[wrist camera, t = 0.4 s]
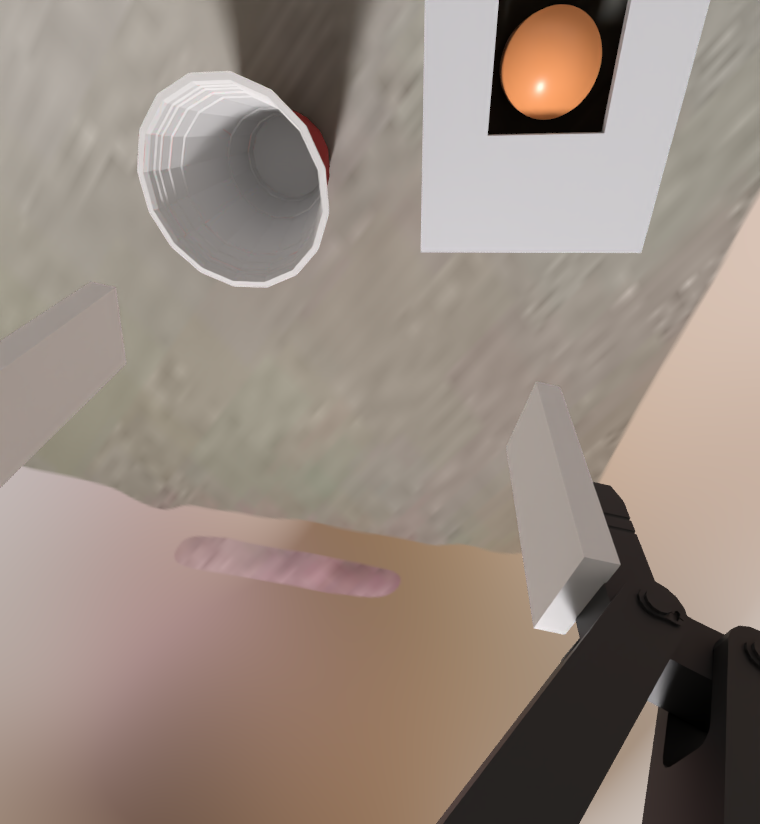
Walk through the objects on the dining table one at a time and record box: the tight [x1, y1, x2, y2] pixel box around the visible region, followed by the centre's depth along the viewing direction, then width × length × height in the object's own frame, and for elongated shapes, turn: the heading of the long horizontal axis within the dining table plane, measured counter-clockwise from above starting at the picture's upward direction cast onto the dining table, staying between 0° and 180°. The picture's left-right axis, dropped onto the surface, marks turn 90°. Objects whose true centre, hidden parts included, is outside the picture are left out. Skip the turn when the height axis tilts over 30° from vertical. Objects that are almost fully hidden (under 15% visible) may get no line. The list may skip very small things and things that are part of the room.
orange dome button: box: [500, 4, 602, 120], centre depth 28 cm, size 5×5×2 cm
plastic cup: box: [137, 71, 330, 288], centre depth 31 cm, size 11×11×12 cm
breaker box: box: [421, 0, 710, 253], centre depth 29 cm, size 20×14×6 cm
